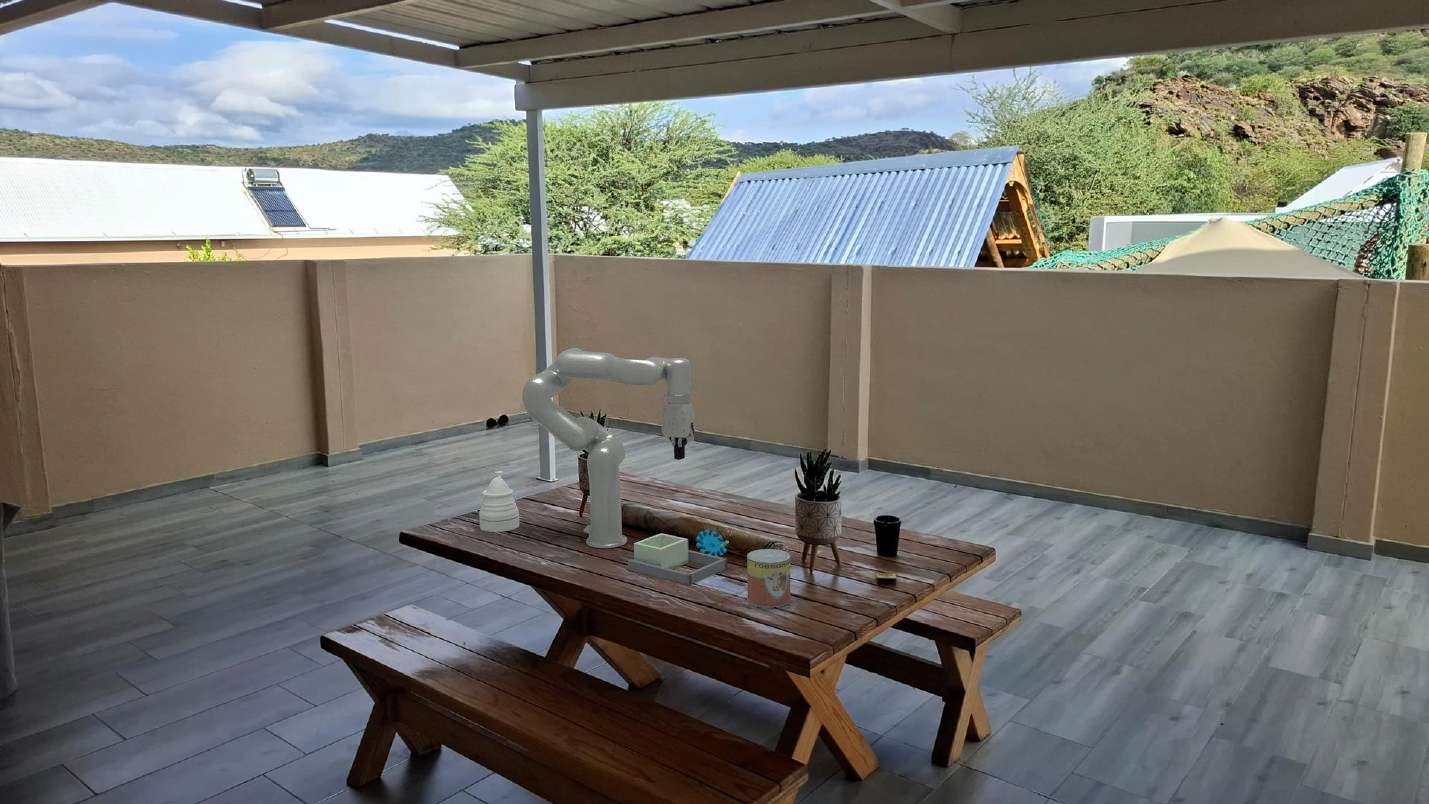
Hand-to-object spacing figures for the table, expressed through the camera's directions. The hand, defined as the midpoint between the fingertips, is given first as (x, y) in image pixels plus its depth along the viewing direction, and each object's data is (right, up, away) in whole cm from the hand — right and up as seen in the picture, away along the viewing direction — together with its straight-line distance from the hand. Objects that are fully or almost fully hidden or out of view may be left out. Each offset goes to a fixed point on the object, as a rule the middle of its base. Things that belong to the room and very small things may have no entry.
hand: (679, 458), depth 298 cm
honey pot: (-61, -24, +26) cm, 70 cm away
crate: (-4, -29, -18) cm, 35 cm away
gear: (+10, -29, -8) cm, 31 cm away
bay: (0, -31, -22) cm, 38 cm away
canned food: (+25, -34, -44) cm, 61 cm away
